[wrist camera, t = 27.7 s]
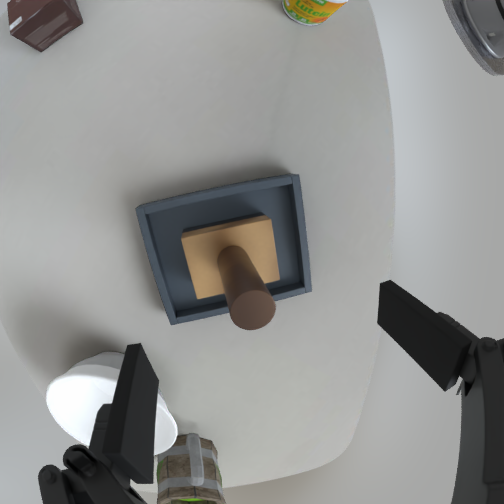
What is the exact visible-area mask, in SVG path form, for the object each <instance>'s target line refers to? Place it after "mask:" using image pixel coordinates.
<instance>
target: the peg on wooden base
mask: <svg viewBox="0 0 504 504" xmlns="http://www.w3.org/2000/svg"><path fill="white" fill-rule="evenodd" d="M181 241H182V245H183V248H184V252H185V256H186V260H187V264H188V268H189V271H190V275H191V279H192V282H193V286H194V290H195V293H196V297H197V299H201V298H206V297H210V296H214V295H219V294H223V293H225V297H226V301H227V305H228V309H229V313H230V316H231V319H232V321H233V322H234V324H235V325H237V326H238V327H240V328H242V329H245V330H256V329H259V328H262V327H264V326H265V325H267V324H268V323H269V322H270V321H271V320H272V318H273V316H274V314H275V310H276V305H275V301H274V299H273V297H272V296H271V294H270V292H269V290H268V289H267V287H266V285H265V283H269V282H273V281H277V280H280V276H279V269H278V262H277V255H276V248H275V241H274V234H273V228H272V221H271V219H270V218H269V217H268V216H266V215H265V214H264V213H262V212H260V213H255V214H250V215H245V216H241V217H236V218H231V219H226V220H222V221H217V222H213V223H208V224H204V225H199V226H195V227H190V228H186V229H183V231H182V237H181Z"/></svg>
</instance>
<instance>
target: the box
mask: <svg viewBox="0 0 504 504" xmlns="http://www.w3.org/2000/svg"><path fill="white" fill-rule="evenodd" d="M7 6H8V17H9V28H10V34H11V35H12V36H14V37H16V38H17V39H19V40H21V41H23V42H25V43H26V44H28V45H29V46H31V47H33V48H35V49H36V50H38V51H40V52H42V51H43V50H45V49H46V48H47V47H49V46H50V45H51V44H53V43H54V42H55V41H57V40H58V39H59V38H61V37H62V36H64V35H65V34H67V33H68V32H70V31H71V30H73V29H74V28H76V27H77V26H79V25H81V24H82V23H83V20H82V17H81V14H80V12H79V9H78V6H77V3H76V0H11V1H10V2H9V3H8V4H7Z"/></svg>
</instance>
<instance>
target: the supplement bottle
mask: <svg viewBox="0 0 504 504" xmlns="http://www.w3.org/2000/svg"><path fill="white" fill-rule="evenodd" d="M347 1H349V0H283V3H282V5H283V9H284V11H285V12H286V14H287V15H288V16H289V17H290V18H291V19H293V20H294V21H296V22H298V23H300V24H304V25H309V26H314V25H319V24H321V23H322V22H324V21H325V20H326V19H327V18H328V17H330V16H331V15H332V14H333V13H334V12H335V11H336V10H338V9H339V8H340V7H341V6H342V5H344V4H345V3H346V2H347Z"/></svg>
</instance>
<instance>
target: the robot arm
mask: <svg viewBox="0 0 504 504" xmlns="http://www.w3.org/2000/svg"><path fill="white" fill-rule="evenodd" d="M461 4H462V8H463V11H464V14H465V17H466V19H467V21H468V23H469V25H470V27H471V29H472V31H473V32H474V34H475V36H476V37H477V39H478V40H479V42H480V43H481V45H482V46H483V47H484V49H485V50H486V51H487V52H488V53H489V54H490V55H491V56H492V57H494V58H503V57H504V0H461ZM377 323H378V324H379V325H380V326H381V327H382V328H383V329H384V330H385V331H386V332H387V333H388V334H389V335H390V336H391V337H392V338H393V339H394V340H395V341H396V342H397V343H398V344H399V345H400V346H401V347H402V348H403V349H404V350H405V351H406V352H407V353H408V354H409V355H410V356H411V357H412V358H413V359H414V360H415V361H416V362H417V363H418V364H419V365H420V366H421V367H422V368H423V370H424V371H425V372H427V374H428V375H429V376H430V377H431V378H432V379H433V380H434V381H435V382H436V383H437V384H438V385H439V386H440V387H441V388H442V389H443V390H444V391H447V390H448V389H450V388H451V387H452V386H454V385H455V384H456V382H457V380H458V377H459V376H460V377H462V378H463V380H462V382H461V384H460V386H459V389H458V391H457V394H456V395H458V394H459V392H460V390H461V395H462V416H461V439H460V452H459V461H458V468H457V475H456V481H455V487H454V493H453V498H452V502H451V504H504V338H503V339H500V340H497V341H496V340H495V339H492V338H489V337H484V338H481V339H479V338H478V337H477V336H475V335H474V334H473V333H471V332H470V331H469V330H467V329H466V328H465V327H464V326H462V325H460V323H458V322H457V321H455V320H454V319H453V318H451V317H450V316H449V315H447V314H444V313H441V312H439V313H435V312H434V311H433V310H432V309H430V308H429V307H428V306H426V305H424V304H423V303H422V302H421V301H419V300H418V299H417V298H415V297H414V296H412V295H411V294H410V293H408V292H407V291H405V290H404V289H402V288H401V287H400V286H398V285H397V284H396V283H394V282H393V281H391V280H389V281H386V282H383V283H380V292H379V308H378V320H377ZM158 386H159V380H158V378H157V376H156V374H155V372H154V370H153V368H152V366H151V364H150V362H149V360H148V358H147V356H146V354H145V352H144V349H143V347H142V345H141V343H138V344H132V345H127V348H126V352H125V355H124V359H123V362H122V366H121V369H120V373H119V377H118V381H117V385H116V389H115V393H114V397H113V401H112V403H109V404H103V405H102V406H101V408H100V409H99V410H98V412H97V415H96V419H95V423H94V427H93V428H94V430H93V431H92V436H91V440H90V445H89V449H88V448H87V447H86V446H84V445H81V444H79V445H73V446H71V447H69V448H68V449H67V450H66V452H65V454H64V456H63V463H64V465H65V466H66V467H67V468H68V469H66V470H60V469H59V468H57V467H56V466H54V465H46V466H44V467H43V468H42V469H41V470H40V472H39V475H38V480H39V486H40V491H41V496H42V500H43V504H147V503H146V502H145V501H144V500H143V499H142V498H141V496H140V495H139V494H138V493H137V492H136V491H135V490H134V489H133V488H132V487H131V486H130V478H131V479H132V480H133V481H134V482H135V483H137V484H153V472H154V441H155V423H156V409H157V397H158Z"/></svg>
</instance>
